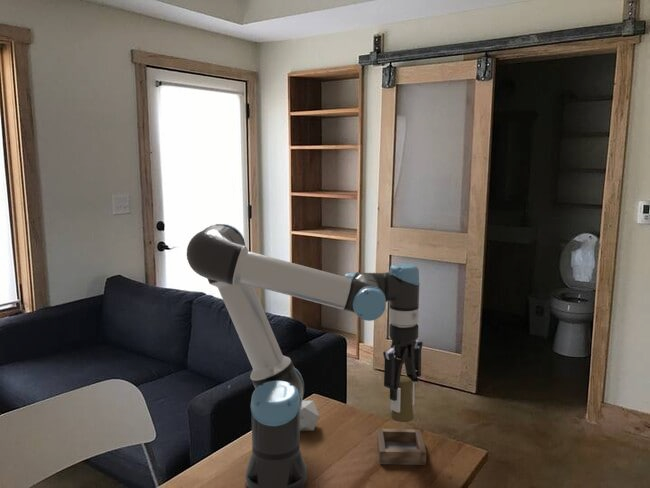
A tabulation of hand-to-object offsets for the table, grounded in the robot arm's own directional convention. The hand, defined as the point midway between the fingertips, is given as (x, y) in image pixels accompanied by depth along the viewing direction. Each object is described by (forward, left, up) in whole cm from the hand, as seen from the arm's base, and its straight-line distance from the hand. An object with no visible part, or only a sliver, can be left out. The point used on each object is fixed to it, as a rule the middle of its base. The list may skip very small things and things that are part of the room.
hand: (402, 406), depth 144 cm
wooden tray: (0, 0, -13) cm, 13 cm away
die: (-27, +12, -13) cm, 33 cm away
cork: (0, 0, -3) cm, 3 cm away
